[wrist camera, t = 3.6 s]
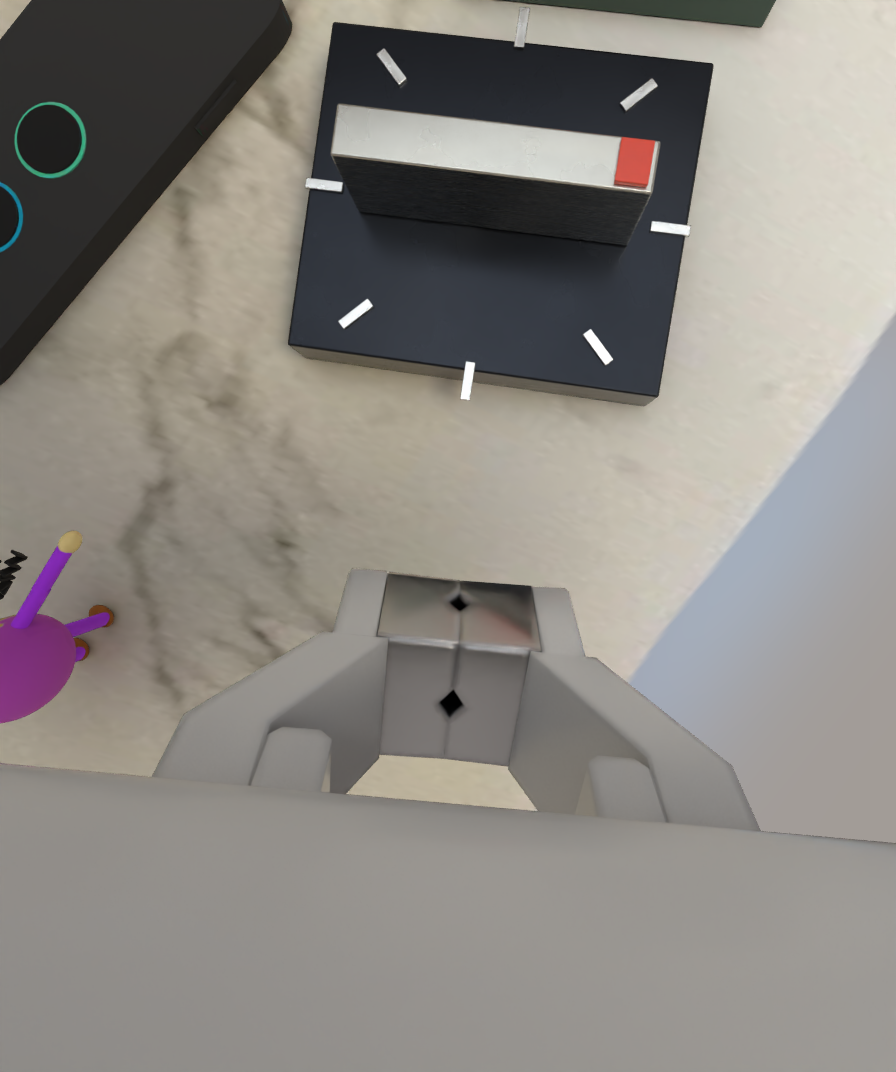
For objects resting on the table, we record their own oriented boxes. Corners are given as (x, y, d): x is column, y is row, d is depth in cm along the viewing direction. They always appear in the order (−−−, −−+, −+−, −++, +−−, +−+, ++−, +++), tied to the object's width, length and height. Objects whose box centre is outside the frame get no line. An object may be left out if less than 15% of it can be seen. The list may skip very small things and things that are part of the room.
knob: (358, 212, 27) (327, 150, 23) (364, 168, 27) (335, 97, 22) (627, 246, 27) (654, 190, 22) (634, 202, 27) (663, 136, 22)
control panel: (298, 384, 30) (278, 372, 28) (348, 33, 30) (333, -14, 27) (643, 434, 29) (657, 427, 27) (703, 72, 29) (724, 28, 26)
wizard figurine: (139, 508, 31) (-89, 510, 19) (201, 550, 31) (11, 578, 19) (6, 725, 32) (-292, 857, 20) (66, 766, 32) (-198, 924, 20)
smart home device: (-182, 257, 30) (132, -141, 28) (-144, 270, 32) (154, -104, 30) (-36, 394, 30) (289, 1, 28) (-6, 400, 31) (302, 30, 30)
